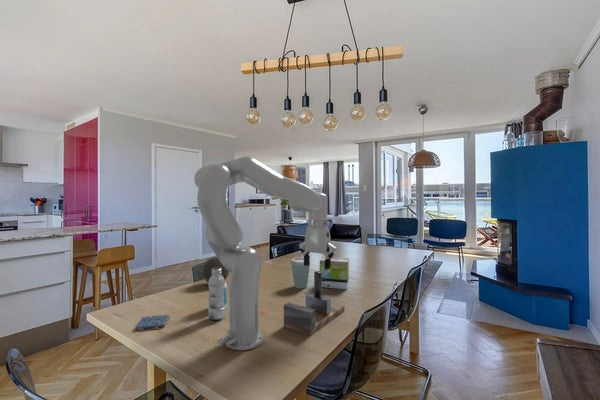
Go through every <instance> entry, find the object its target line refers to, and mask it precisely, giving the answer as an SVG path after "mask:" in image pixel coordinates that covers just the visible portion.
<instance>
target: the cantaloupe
mask: <svg viewBox="0 0 600 400" xmlns="http://www.w3.org/2000/svg"><path fill="white" fill-rule="evenodd" d="M216 267H219V268H221V271H222V273H221V275H222V276H223V277H224V279H225V281H226V280H227V278H228V276H229V273H230V270H228V269H227V268H225V267H224V266H223V265H222V264H221V262H220V261H219V259H218V258H217V256H216V257H213V256H212V257H211V258H208V259H207V260H206V262H204V265H203V268H202V274H203V275H202V276H203V278H204V280H205V281H206V282H207V283H208V282H209V279H210V277H211V276H212V268H216Z"/></svg>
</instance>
